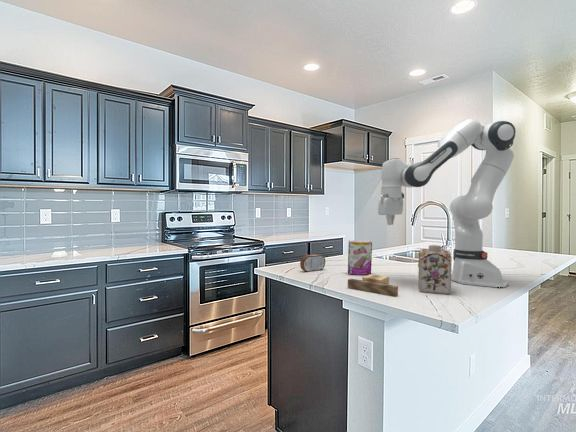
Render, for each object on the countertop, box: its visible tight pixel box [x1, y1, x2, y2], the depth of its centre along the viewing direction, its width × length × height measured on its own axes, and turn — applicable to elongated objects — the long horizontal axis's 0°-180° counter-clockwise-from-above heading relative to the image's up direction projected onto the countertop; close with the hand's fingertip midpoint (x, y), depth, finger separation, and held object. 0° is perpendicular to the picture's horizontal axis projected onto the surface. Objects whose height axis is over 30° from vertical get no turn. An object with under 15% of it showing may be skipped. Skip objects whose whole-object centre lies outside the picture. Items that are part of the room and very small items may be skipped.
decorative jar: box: [417, 244, 453, 295], centre depth 137 cm, size 12×12×18 cm
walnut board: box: [347, 278, 399, 298], centre depth 133 cm, size 20×2×4 cm, turn 51°
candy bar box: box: [347, 240, 373, 276], centre depth 166 cm, size 11×5×16 cm, turn 84°
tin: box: [299, 253, 326, 273], centre depth 174 cm, size 15×3×8 cm, turn 124°
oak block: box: [361, 273, 390, 285], centre depth 138 cm, size 8×8×5 cm
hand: (390, 224), depth 154 cm, fingers closed
